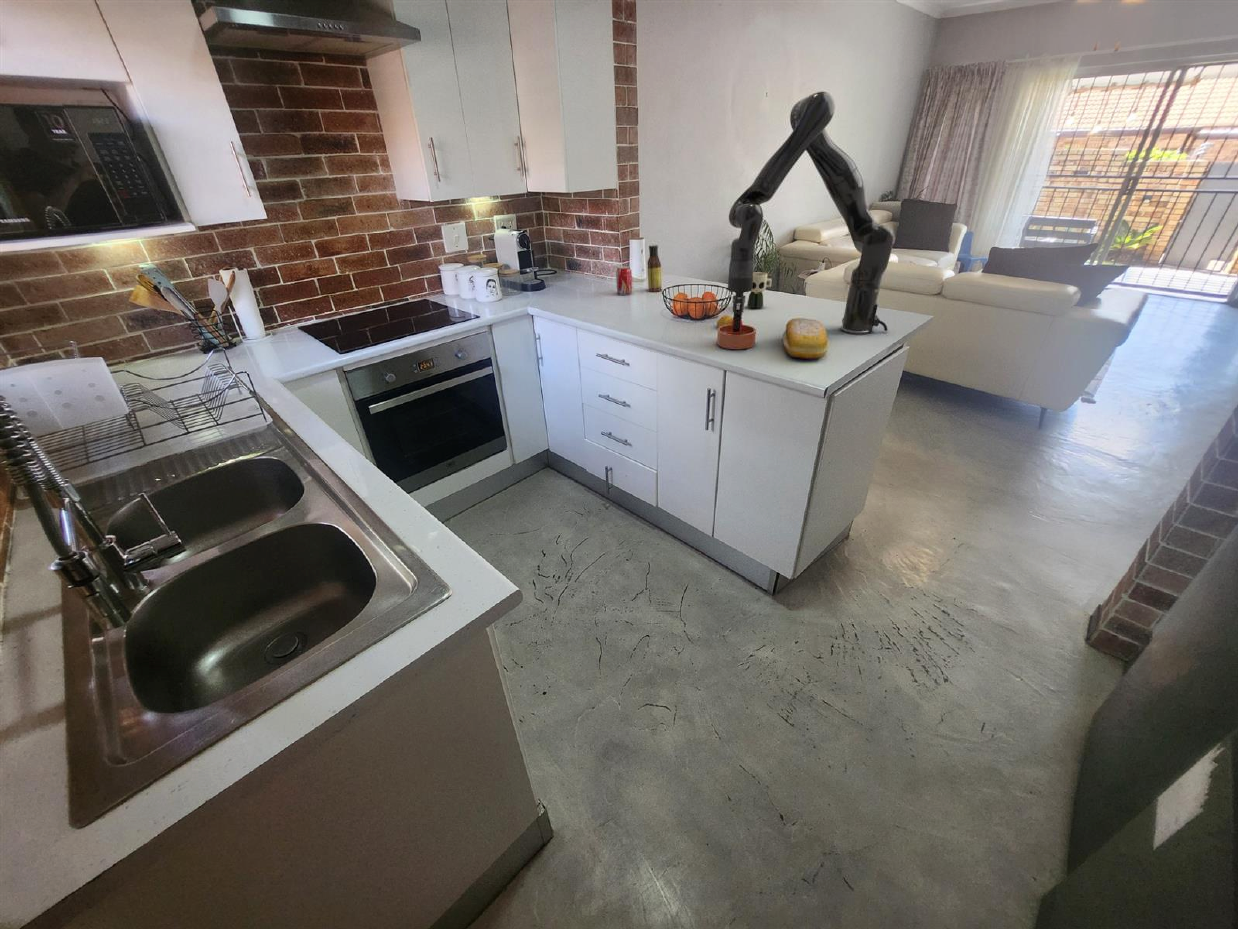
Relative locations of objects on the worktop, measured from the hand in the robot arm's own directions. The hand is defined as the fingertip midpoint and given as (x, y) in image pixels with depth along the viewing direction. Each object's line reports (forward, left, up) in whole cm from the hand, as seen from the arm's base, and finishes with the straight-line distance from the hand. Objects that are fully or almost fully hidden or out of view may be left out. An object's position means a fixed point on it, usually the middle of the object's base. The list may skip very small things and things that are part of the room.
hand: (736, 329), depth 165 cm
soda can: (+53, -68, -5) cm, 86 cm away
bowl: (0, 0, -5) cm, 5 cm away
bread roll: (+3, -19, -5) cm, 20 cm away
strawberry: (0, 0, 0) cm, 0 cm away
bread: (-21, +2, -5) cm, 22 cm away
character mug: (-6, -47, -5) cm, 48 cm away
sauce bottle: (+40, -75, -5) cm, 85 cm away
